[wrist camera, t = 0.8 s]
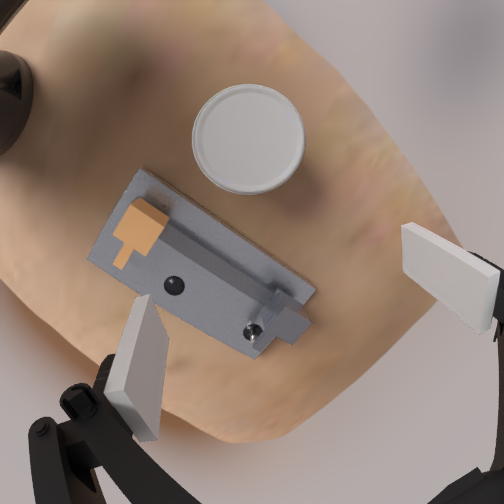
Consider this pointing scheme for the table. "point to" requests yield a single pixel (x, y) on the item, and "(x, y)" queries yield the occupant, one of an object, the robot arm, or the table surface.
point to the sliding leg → (138, 230)
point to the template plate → (207, 272)
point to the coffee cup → (248, 139)
